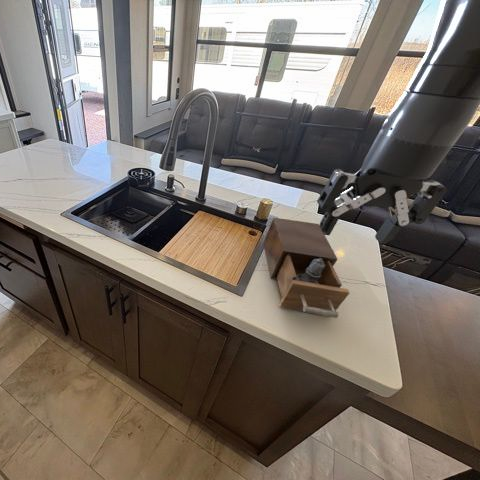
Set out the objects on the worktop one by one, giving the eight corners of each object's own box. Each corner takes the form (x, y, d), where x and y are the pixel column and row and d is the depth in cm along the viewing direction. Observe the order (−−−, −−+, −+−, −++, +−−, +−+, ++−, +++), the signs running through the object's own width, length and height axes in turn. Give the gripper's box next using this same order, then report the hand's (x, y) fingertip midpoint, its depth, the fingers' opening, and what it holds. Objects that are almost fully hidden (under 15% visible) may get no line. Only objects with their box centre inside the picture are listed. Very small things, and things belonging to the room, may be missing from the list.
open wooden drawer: (338, 333, 59) (358, 310, 54) (283, 323, 61) (298, 299, 55) (314, 272, 75) (327, 250, 70) (271, 265, 77) (281, 242, 71)
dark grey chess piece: (311, 304, 64) (334, 270, 57) (287, 293, 67) (306, 259, 59) (315, 289, 68) (336, 256, 61) (292, 280, 71) (310, 247, 63)
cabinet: (319, 286, 72) (337, 259, 65) (270, 278, 74) (283, 250, 67) (304, 249, 85) (318, 223, 78) (263, 243, 87) (273, 217, 80)
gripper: (368, 136, 30) (312, 243, 40) (506, 150, 28) (412, 258, 38) (345, 122, 36) (301, 218, 46) (458, 133, 34) (387, 230, 44)
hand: (351, 236), depth 42 cm, fingers open, 8 cm apart
